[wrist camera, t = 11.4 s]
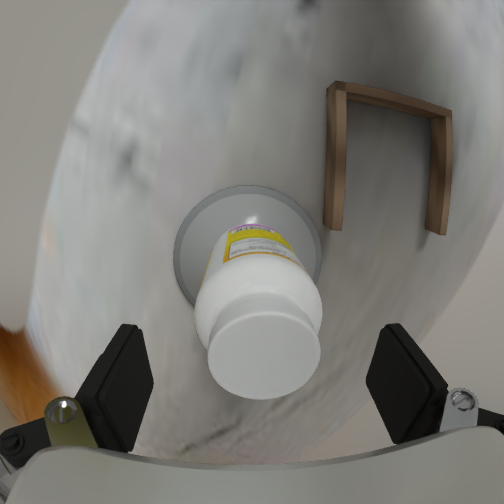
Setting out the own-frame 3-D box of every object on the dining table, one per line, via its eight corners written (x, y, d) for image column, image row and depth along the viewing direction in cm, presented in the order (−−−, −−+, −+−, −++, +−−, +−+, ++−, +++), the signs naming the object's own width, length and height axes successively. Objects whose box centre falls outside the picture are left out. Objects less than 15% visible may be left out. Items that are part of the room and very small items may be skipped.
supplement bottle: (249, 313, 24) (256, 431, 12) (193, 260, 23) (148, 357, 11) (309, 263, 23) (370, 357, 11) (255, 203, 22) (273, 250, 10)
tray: (172, 185, 22) (169, 186, 21) (325, 188, 23) (328, 189, 22) (180, 322, 26) (178, 327, 25) (312, 322, 26) (314, 327, 25)
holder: (326, 88, 20) (336, 80, 18) (436, 113, 21) (451, 110, 18) (322, 223, 23) (331, 230, 21) (430, 229, 24) (445, 235, 21)
